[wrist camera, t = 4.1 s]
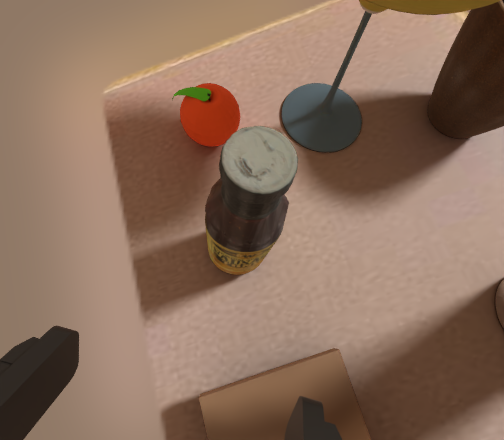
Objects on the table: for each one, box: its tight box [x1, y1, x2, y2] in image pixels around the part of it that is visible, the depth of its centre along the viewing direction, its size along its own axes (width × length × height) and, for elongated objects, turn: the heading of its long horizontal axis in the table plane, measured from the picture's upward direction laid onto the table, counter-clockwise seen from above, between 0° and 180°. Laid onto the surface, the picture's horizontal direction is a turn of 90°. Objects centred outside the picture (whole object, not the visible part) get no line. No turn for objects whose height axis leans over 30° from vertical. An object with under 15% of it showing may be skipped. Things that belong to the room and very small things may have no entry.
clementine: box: [172, 83, 240, 147], centre depth 35 cm, size 8×7×7 cm
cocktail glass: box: [282, 0, 500, 152], centre depth 29 cm, size 18×18×25 cm
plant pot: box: [428, 0, 504, 139], centre depth 35 cm, size 15×15×16 cm
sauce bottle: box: [205, 126, 298, 275], centre depth 25 cm, size 6×6×20 cm
